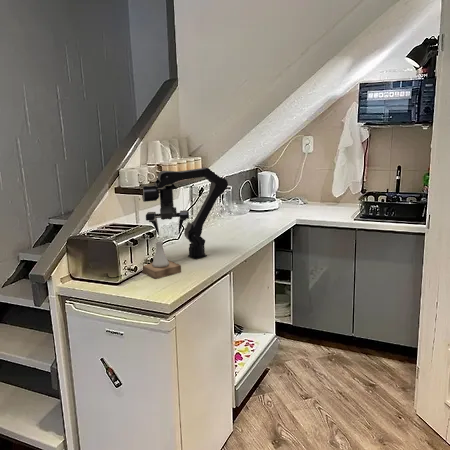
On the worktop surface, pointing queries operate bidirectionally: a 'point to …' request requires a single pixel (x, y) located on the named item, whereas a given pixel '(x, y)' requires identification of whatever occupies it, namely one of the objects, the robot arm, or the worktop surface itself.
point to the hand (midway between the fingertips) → (168, 234)
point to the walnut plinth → (161, 270)
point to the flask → (160, 256)
